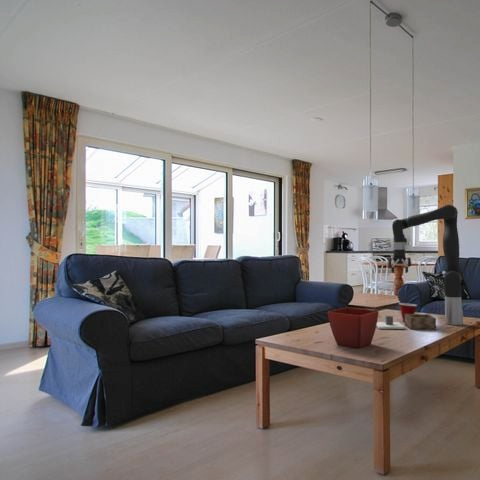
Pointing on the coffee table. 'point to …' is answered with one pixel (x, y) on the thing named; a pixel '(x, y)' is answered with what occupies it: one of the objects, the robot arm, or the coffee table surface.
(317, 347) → the coffee table surface
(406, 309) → the plastic cup
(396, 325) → the cream lid
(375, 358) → the coffee table surface
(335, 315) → the plant pot
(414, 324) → the walnut box
